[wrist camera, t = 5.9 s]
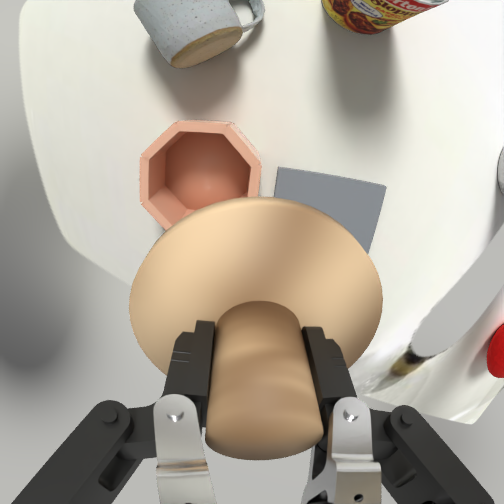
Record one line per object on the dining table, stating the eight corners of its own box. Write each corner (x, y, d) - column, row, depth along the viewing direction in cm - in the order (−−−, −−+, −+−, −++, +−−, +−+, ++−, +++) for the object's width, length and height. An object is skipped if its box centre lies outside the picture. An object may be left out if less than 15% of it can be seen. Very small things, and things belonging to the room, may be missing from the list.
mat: (384, 185, 28) (386, 186, 28) (357, 278, 34) (359, 280, 33) (278, 166, 28) (278, 167, 27) (262, 269, 33) (262, 272, 32)
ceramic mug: (182, 78, 23) (159, 66, 16) (147, 22, 20) (119, -2, 13) (279, 32, 21) (290, 5, 14) (240, -23, 18) (239, -59, 11)
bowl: (263, 125, 26) (266, 128, 20) (251, 219, 30) (251, 244, 25) (162, 118, 25) (141, 121, 20) (159, 211, 30) (141, 233, 24)
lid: (402, 214, 11) (500, 303, 5) (335, 384, 16) (357, 472, 10) (126, 187, 10) (24, 275, 4) (152, 376, 15) (131, 469, 9)
